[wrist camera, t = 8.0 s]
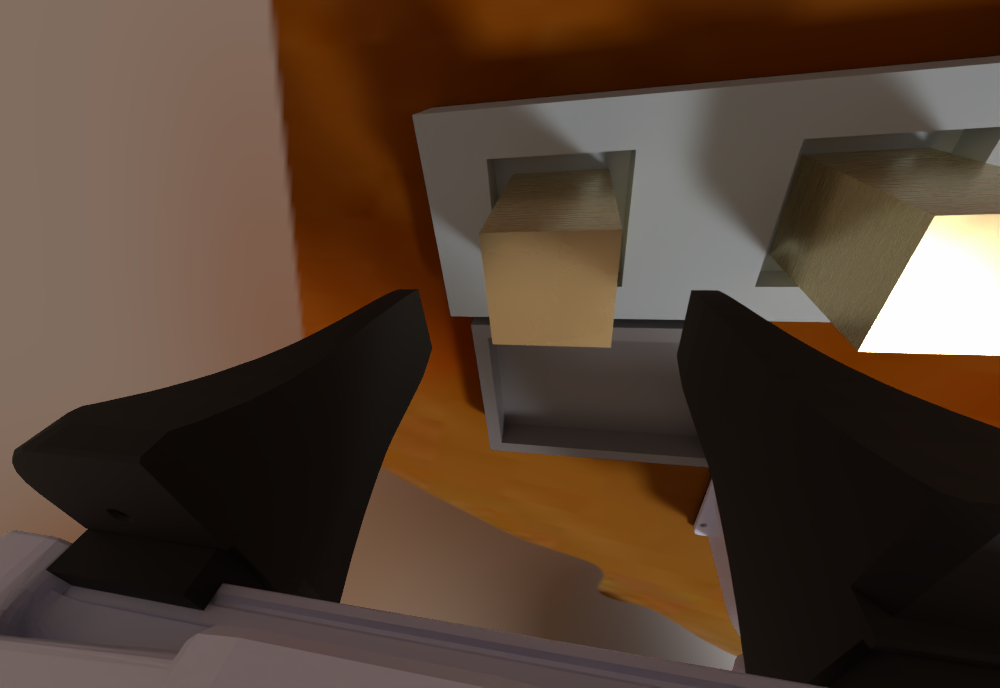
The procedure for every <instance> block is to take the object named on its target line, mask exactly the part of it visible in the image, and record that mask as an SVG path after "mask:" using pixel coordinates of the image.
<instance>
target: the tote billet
mask: <svg viewBox="0 0 1000 688" xmlns="http://www.w3.org/2000/svg"><path fill="white" fill-rule="evenodd" d="M479 239H480V247H481V255H482V263H483V271H484V279H485V287H486V295H487V303H488V311H489V319H490V327H491V335H492V343H493V344H500V345H535V346H570V347H604V348H611V342H612V331H613V321H614V311H615V300H616V290H617V280H618V269H619V259H620V249H621V239H622V225H621V221H620V216H619V212H618V207H617V203H616V198H615V194H614V189H613V185H612V180H611V176H610V171H609V169H591V170H573V171H555V172H537V173H519V174H513V175H512V177H511V178H510V180H509V182H508V183H507V185H506V187H505V189H504V190H503V192H502V194H501V196H500V197H499V199H498V201H497V202H496V204H495V206H494V208H493V209H492V211H491V213H490V215H489V216H488V218H487V220H486V222H485V223H484V225H483V227H482V228H481V230H480V232H479Z"/></svg>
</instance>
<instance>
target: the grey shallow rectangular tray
mask: <svg viewBox="0 0 1000 688" xmlns="http://www.w3.org/2000/svg"><path fill="white" fill-rule="evenodd" d="M684 321H685V320H660V319H614V321H613V331H612V342H611V348H604V347H570V346H535V345H500V344H493V343H492V335H491V327H490V319H489V317H474V319H473V321H472V323H471V328H472V334H473V341H474V347H475V353H476V359H477V366H478V372H479V378H480V385H481V391H482V397H483V403H484V410H485V416H486V422H487V428H488V435H489V441H490V447H491V450H500V451H512V452H524V453H537V454H549V455H561V456H573V457H586V458H598V459H610V460H623V461H635V462H647V463H659V464H672V465H684V466H696V467H708V464H707V461H706V458H705V455H704V452H703V449H702V446H701V443H700V440H699V437H698V434H697V431H696V428H695V425H694V422H693V419H692V416H691V414H690V411H689V407H688V404H687V401H686V398H685V395H684V392H683V389H682V384H681V379H680V373H679V367H678V361H677V352H678V348H679V343H680V339H681V334H682V330H683V325H684Z"/></svg>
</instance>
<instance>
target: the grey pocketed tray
mask: <svg viewBox="0 0 1000 688" xmlns="http://www.w3.org/2000/svg"><path fill="white" fill-rule="evenodd" d="M412 117H413V123H414V128H415V133H416V138H417V143H418V148H419V154H420V159H421V164H422V169H423V174H424V180H425V185H426V190H427V195H428V200H429V206H430V211H431V216H432V221H433V226H434V231H435V237H436V242H437V247H438V252H439V257H440V263H441V268H442V273H443V278H444V283H445V288H446V294H447V299H448V304H449V309H450V314H451V316H465V317H489V311H488V303H487V295H486V287H485V279H484V271H483V263H482V255H481V247H480V239H479V232H480V230H481V228H482V227H483V225H484V223H485V222H486V220H487V218H488V216H489V215H490V213H491V211H492V209H493V208H494V206H495V204H496V202H497V201H498V199H499V197H500V196H501V194H502V192H503V190H504V189H505V187H506V185H507V183H508V182H509V180H510V178H511V177H512V175H513V174H519V173H537V172H555V171H573V170H591V169H609V171H610V176H611V180H612V185H613V189H614V194H615V198H616V203H617V207H618V212H619V216H620V221H621V225H622V239H621V249H620V259H619V269H618V280H617V290H616V300H615V311H614V319H660V320H685V316H686V312H687V307H688V303H689V298H690V294H691V290H719V291H721V292H723V293H725V294H726V295H728V296H730V297H731V298H733V299H735V300H736V301H738V302H739V303H741V304H742V305H744V306H746V307H747V308H749V309H750V310H752V311H753V312H755V313H756V314H758V315H759V316H761V317H762V318H764V319H766V320H767V321H791V322H831V321H830V320H829V319H828V318H827V317H826V316H825V315H824V314H823V313H822V312H821V311H820V310H819V308H818V307H817V306H816V305H815V304H814V303H813V302H812V301H811V300H810V299H809V298H808V297H807V295H806V294H805V293H804V292H803V291H802V290H801V289H800V288H799V287H798V286H797V285H796V283H795V282H794V281H793V280H792V279H791V278H790V277H789V276H788V275H787V274H786V273H785V272H784V270H783V269H782V268H781V267H780V266H779V265H778V264H777V263H776V262H775V261H774V260H773V258H772V257H771V256H770V255H769V252H770V249H771V246H772V243H773V240H774V237H775V234H776V231H777V228H778V225H779V222H780V219H781V216H782V213H783V210H784V207H785V204H786V201H787V198H788V195H789V192H790V189H791V186H792V183H793V180H794V177H795V174H796V171H797V168H798V165H799V162H800V159H801V156H802V154H816V153H834V152H852V151H869V150H887V149H904V148H922V147H930V148H934V149H937V150H941V151H945V152H948V153H952V154H955V155H959V156H963V157H966V158H970V159H974V160H977V161H981V162H985V163H988V164H992V165H996V166H999V167H1000V56H991V57H980V58H969V59H958V60H947V61H936V62H925V63H914V64H904V65H893V66H882V67H871V68H860V69H849V70H838V71H827V72H816V73H805V74H794V75H783V76H772V77H761V78H751V79H740V80H729V81H718V82H707V83H696V84H685V85H674V86H663V87H652V88H641V89H630V90H619V91H608V92H598V93H587V94H576V95H565V96H554V97H543V98H532V99H521V100H510V101H499V102H488V103H477V104H466V105H455V106H445V107H434V108H430V109H427V110H424V111H422V112H419V113H416V114H413V115H412Z"/></svg>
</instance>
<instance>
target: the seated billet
mask: <svg viewBox="0 0 1000 688" xmlns="http://www.w3.org/2000/svg"><path fill="white" fill-rule="evenodd" d="M769 255H770V256H771V257H772V258H773V260H774V261H775V262H776V263H777V264H778V265H779V266H780V267H781V268H782V269H783V270H784V272H785V273H786V274H787V275H788V276H789V277H790V278H791V279H792V280H793V281H794V282H795V283H796V285H797V286H798V287H799V288H800V289H801V290H802V291H803V292H804V293H805V294H806V295H807V297H808V298H809V299H810V300H811V301H812V302H813V303H814V304H815V305H816V306H817V307H818V308H819V310H820V311H821V312H822V313H823V314H824V315H825V316H826V317H827V318H828V319H829V320H830V321H831V323H832V324H833V325H834V326H835V327H836V328H837V329H838V330H839V331H840V332H841V333H842V335H843V336H844V337H845V338H846V339H847V340H848V341H849V342H850V343H851V344H852V345H853V346H854V348H855V349H856V350H857V351H860V352H896V353H932V354H969V355H1000V167H999V166H996V165H992V164H988V163H985V162H981V161H977V160H974V159H970V158H966V157H963V156H959V155H955V154H952V153H948V152H945V151H941V150H937V149H934V148H930V147H922V148H904V149H887V150H869V151H852V152H834V153H816V154H802V156H801V159H800V162H799V165H798V168H797V171H796V174H795V177H794V180H793V183H792V186H791V189H790V192H789V195H788V198H787V201H786V204H785V207H784V210H783V213H782V216H781V219H780V222H779V225H778V228H777V231H776V234H775V237H774V240H773V243H772V246H771V249H770V252H769Z"/></svg>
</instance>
